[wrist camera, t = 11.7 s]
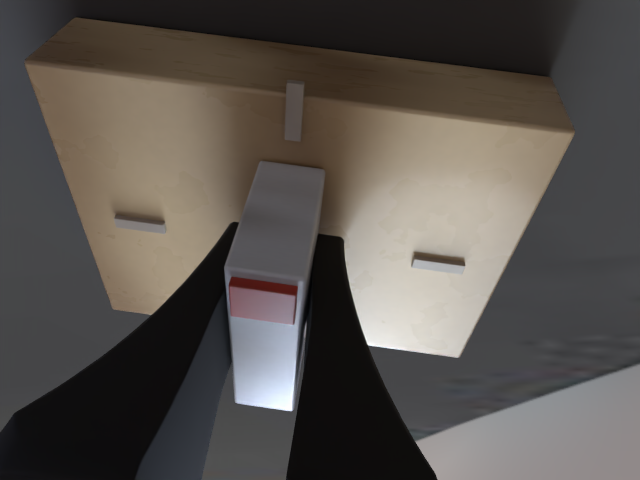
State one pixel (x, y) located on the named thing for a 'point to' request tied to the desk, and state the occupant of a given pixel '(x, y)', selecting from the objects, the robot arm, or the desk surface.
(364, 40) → the desk surface
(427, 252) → the panel
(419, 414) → the desk surface
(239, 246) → the grey rectangular block
